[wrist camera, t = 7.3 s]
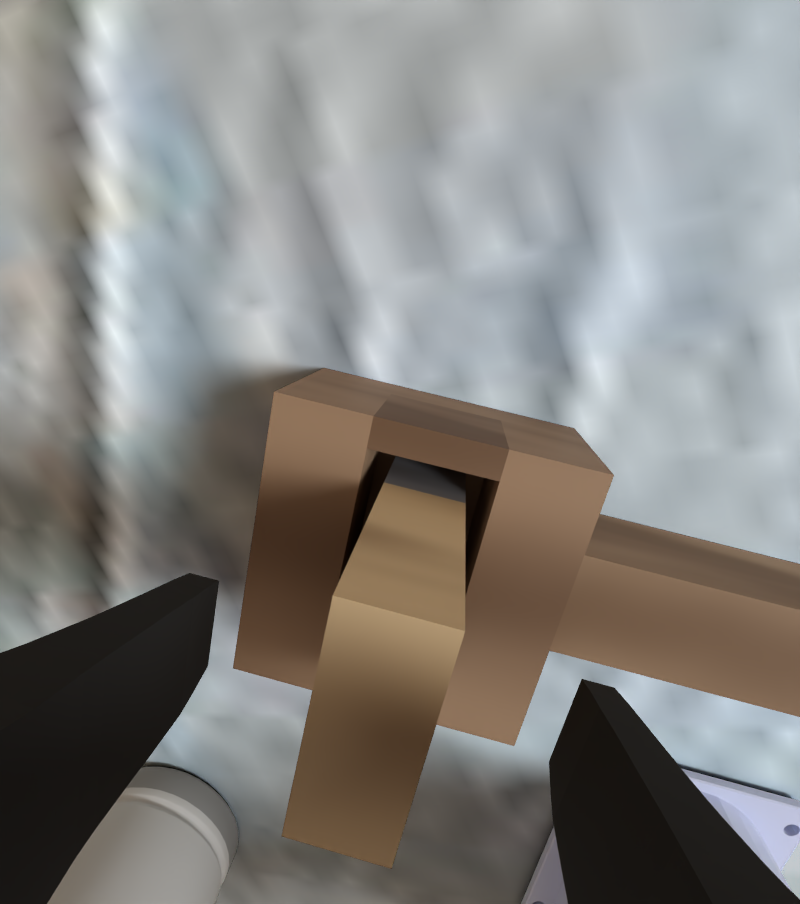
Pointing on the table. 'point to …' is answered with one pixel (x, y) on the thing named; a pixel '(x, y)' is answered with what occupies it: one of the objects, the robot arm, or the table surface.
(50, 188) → the table surface
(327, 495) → the post
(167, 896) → the travel mug
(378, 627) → the tan square peg
